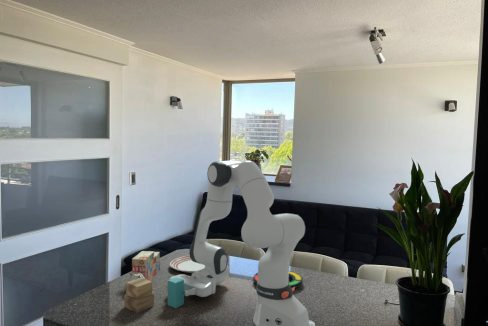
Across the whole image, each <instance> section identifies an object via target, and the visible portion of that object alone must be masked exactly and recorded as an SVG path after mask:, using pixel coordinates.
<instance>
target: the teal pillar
mask: <svg viewBox="0 0 488 326" xmlns="http://www.w3.org/2000/svg"><path fill="white" fill-rule="evenodd" d="M169 279H170V278H169ZM169 279H168V280H167V286H168V289H167V306H168V307H172V308H174V309H177V308H179V307H181V306H183V305H185V295H183V294H184V280H183V279H180V278H177V277H176V278H173V279H170V280H169Z"/></svg>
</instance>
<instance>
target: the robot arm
mask: <svg viewBox="0 0 488 326" xmlns="http://www.w3.org/2000/svg"><path fill="white" fill-rule="evenodd" d="M206 175H207V179H208V180H207V181H208V182H209V185H208V190H207V196H206V203H205V206H204V207H202V209H201V210H200V212H199V215H198V218H197V222H196V227H195V230H194V235H193V239H192V242H191V245H190V246H189V247H190V248H189V252H188V254H189V255H190V258H191V260H192V261H193V262H196V263H199V264H203V265H205V268H204V269H201V270H198V271H196V272H194V273H191V275H187V274H177V275H173V276H171V277H169V279H168V280H170V279H173V278H176V277H177V278H180V279H183V280H184V294H183V295H184V297H188V296H193V295H194V296H198V297H201V298H205V297H209V296H210V295H214V294H215V293H216V289H217V287H216V286H219V285H221V284H222V283H224V282H225V281H226V280H227V279H228V278H229V276H230V267H229V265H228V261H229V260H228V259H229V256H228V253H227V250H226V249H225V248H223V247H221V246H218V245H215V244H212V243H209V242H208V240H207V236H208V233H209V227H210V224H211V223H212V222H213V221H218V220H223V219H224V218H227V216H229V214H230V212H232V207H233V206H232V205H233V194H234V193H233V192H234V189H235V188H239V191H240V194H241V196H242V198H243V202H244V204H245V207H246V210H247V216H246V219H245V221H244V222H243V225H242V227H241V231H240V232H241V239H242V241H243V243H244V244H245V245H246V246H247V247H248V248H252V249H265V248H267V251H265V253H264V254H263V255H262V256H261V257H260V259H259V261H258V264H257V269H258V270H257V273H258V282H257V284H256V295H257V296H256V306H255V309H254V315H253V318H252V322H253V325H255V326H316V323H315V322H314V321H312V320H310V317H309V312H308V310H307V308H306V306H305V305H304V304H302V303H301V302H300V301H299V300H298V298H297V297H296V296H295V295H294V294H293V292H294V291H296V290H295V289H296V288H295V287H293V288H292V289H291V287H290V284H289V282H290V279H289V271H290V264H291V263H290V262H291V259H292V255H293V253H294V250H295V248H296V246H297V245H298V243H299V241H301V239H302V238H303V237H304V236H305V233H306V225H305V221H304V220H303V218H302V217H301V216H300V215H299V214H294V213H287V212H286V213H278V214H272V212H271V211H270V208H271V207H272V205H273V204H274V200H275V195H274V192H273V191H272V188H271V186H270V185H269V182H268V180H267V179H266V177H265V174H264V173H263V171H262V170H261V168H260V167H259V165H257V163H256V162H255V161H252V160H245V161H239V160H223V161H222V160H217V161H213V162H211V163H210V164H209V166H208V167H207V174H206ZM294 288H295V289H294ZM166 290H168V285H167V287H166Z"/></svg>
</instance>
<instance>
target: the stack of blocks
mask: <svg viewBox="0 0 488 326" xmlns="http://www.w3.org/2000/svg"><path fill="white" fill-rule="evenodd" d="M160 255H161V253H160V251H150V250H149V251H147V250H142V251H140V252H139V253H138V254H137V255H135V256H134V257H132V258H131V274H132V275H133V274H139V273H141V272H142V275H143V276H144V277H145V279H146V280H149V281H152V279H153V278H154V277H155V276H156V275H157V274H158V273H159V272H160V270H161V256H160Z"/></svg>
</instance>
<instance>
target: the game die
mask: <svg viewBox="0 0 488 326" xmlns="http://www.w3.org/2000/svg"><path fill="white" fill-rule="evenodd" d="M129 275H130V278H129V280H128V282H129V281H132V280H135V279H138V278H144V279H145V277H144V276H143V275H142V272H141V273H139V274H133V275H132V272H130V273H129Z"/></svg>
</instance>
